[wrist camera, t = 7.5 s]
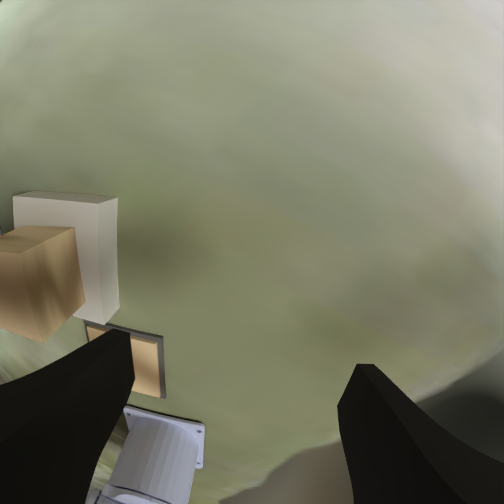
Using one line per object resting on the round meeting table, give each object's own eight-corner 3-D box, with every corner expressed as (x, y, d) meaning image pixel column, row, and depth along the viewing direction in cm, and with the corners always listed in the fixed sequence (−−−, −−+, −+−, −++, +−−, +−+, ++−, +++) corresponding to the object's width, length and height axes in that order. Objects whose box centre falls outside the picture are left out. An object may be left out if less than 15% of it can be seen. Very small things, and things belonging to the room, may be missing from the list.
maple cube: (85, 301, 16) (43, 343, 12) (36, 292, 16) (-6, 324, 12) (74, 227, 15) (19, 253, 10) (23, 225, 15) (-27, 248, 10)
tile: (166, 396, 22) (164, 401, 21) (98, 377, 22) (95, 381, 21) (163, 336, 20) (160, 341, 19) (85, 317, 20) (82, 320, 19)
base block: (122, 304, 20) (104, 325, 17) (45, 284, 20) (24, 299, 17) (121, 196, 17) (98, 203, 14) (38, 189, 17) (12, 195, 14)
